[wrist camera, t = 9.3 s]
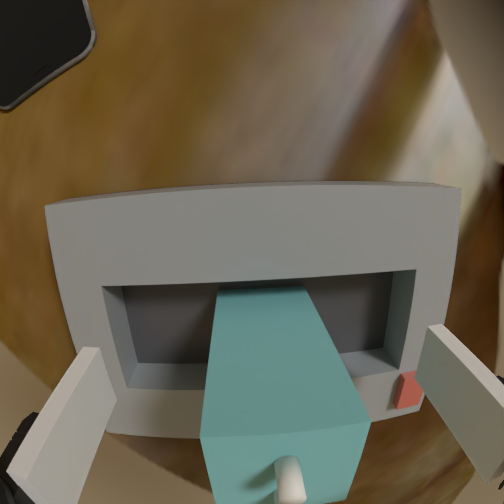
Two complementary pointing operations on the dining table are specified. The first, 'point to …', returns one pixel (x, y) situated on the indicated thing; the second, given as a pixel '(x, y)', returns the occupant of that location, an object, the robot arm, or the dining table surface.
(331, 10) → the dining table surface
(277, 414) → the block
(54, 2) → the smartphone
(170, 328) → the grey slotted tray
